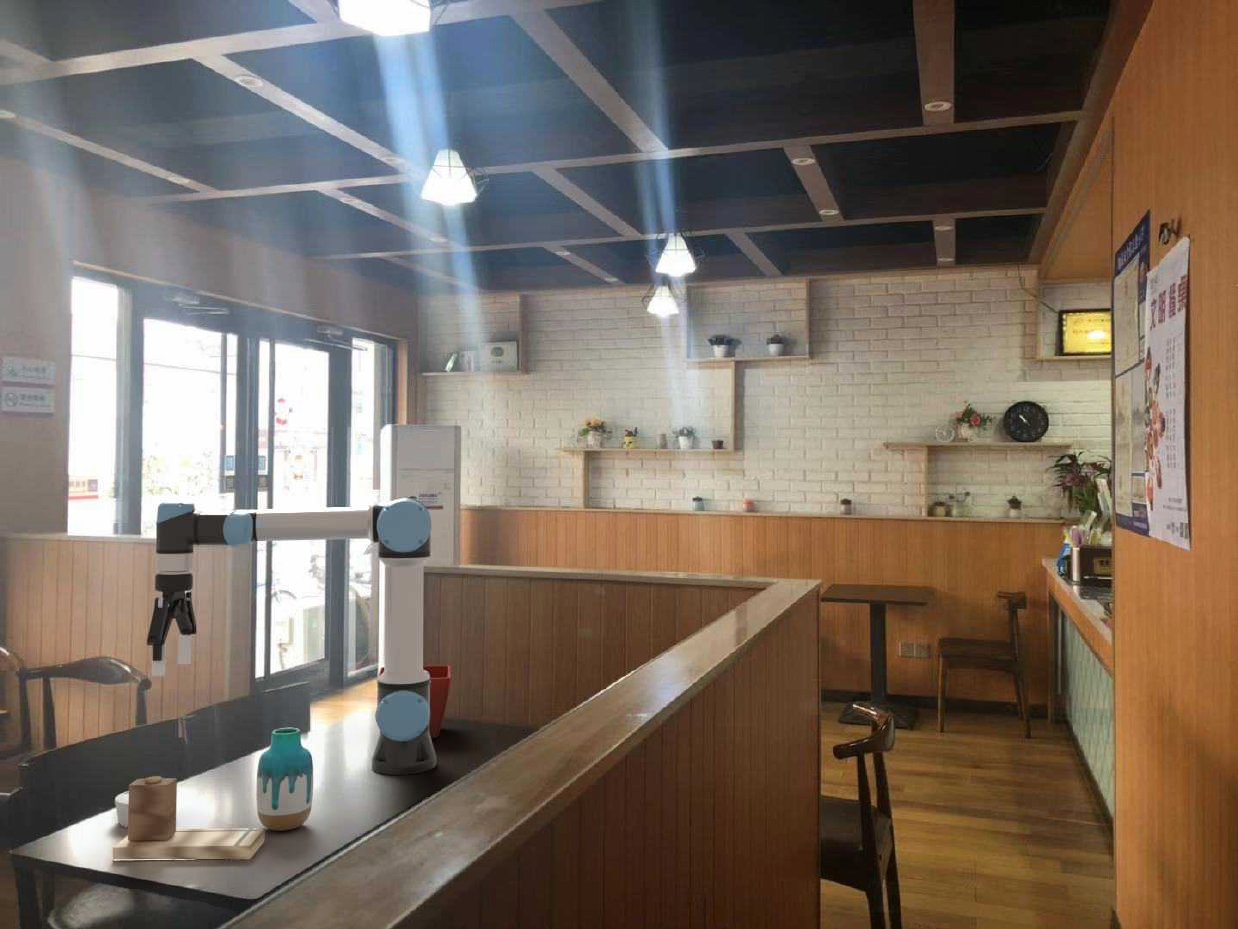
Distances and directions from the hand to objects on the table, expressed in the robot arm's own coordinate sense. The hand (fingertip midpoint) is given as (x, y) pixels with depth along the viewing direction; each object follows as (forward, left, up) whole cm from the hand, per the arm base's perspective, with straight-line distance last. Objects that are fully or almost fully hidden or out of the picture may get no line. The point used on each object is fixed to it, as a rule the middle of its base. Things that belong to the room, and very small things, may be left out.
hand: (171, 670), depth 213 cm
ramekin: (-2, +17, -27) cm, 32 cm away
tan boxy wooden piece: (-10, +32, -24) cm, 41 cm away
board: (-17, +34, -27) cm, 46 cm away
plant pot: (-46, -50, -27) cm, 73 cm away
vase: (-31, +22, -27) cm, 47 cm away
